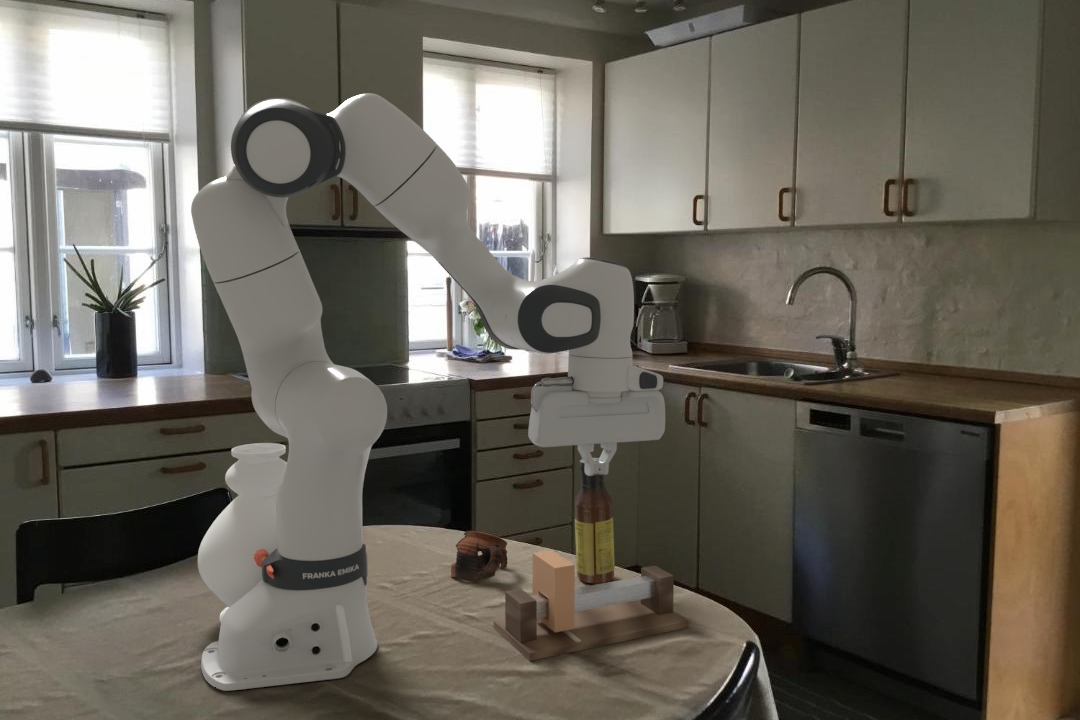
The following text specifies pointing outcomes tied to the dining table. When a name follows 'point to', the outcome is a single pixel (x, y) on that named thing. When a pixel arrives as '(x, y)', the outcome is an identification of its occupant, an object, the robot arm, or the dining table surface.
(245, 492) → the decorative vase
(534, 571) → the collar
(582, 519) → the sauce bottle
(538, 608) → the rod stand
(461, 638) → the dining table surface
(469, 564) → the broken clay pot
